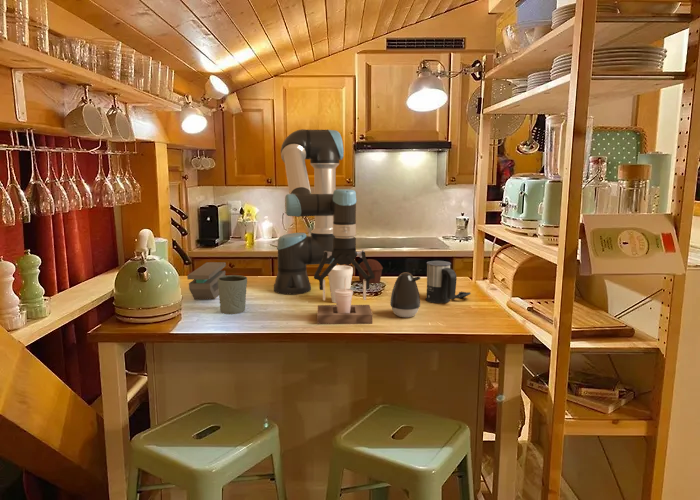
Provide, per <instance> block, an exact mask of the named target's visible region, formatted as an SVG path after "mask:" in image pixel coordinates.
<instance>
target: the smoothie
mask: <svg viewBox="0 0 700 500" xmlns="http://www.w3.org/2000/svg"><path fill="white" fill-rule="evenodd" d="M334 294H335V296H336V303H335V305H337V312H338V313H350V308H351V305H352V299H353V295H354V290H353V289H351V288H350V289H346V278H345V289H336V290H335V291H334Z"/></svg>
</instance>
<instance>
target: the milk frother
mask: <svg viewBox="0 0 700 500" xmlns="http://www.w3.org/2000/svg"><path fill="white" fill-rule="evenodd" d="M451 265H452V263H451V262H450V261H444V260H431V261H427V262H426V298H425V300H426V302H428V303H434V304H445V303H446V304H447V303H450V301H451V300H454V299H458V298H460V299H464V298H465V297H467V296H469V295H471V291H470V292H466V291H459V292H458V293H457V294H456V290H457V273H456V271H455V270H454V269H452V268H451Z"/></svg>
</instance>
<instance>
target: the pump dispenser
mask: <svg viewBox="0 0 700 500" xmlns="http://www.w3.org/2000/svg"><path fill="white" fill-rule="evenodd" d="M419 280H421V276H419V275H418V276H415V277H414V276H413V274H412V273H410V272H408V271H407V272H402V273H400V274H399V275H398V277H397V278H396V280H395V282H394V285H393V288H392V291H391V295H390V307H391V311H392V312H393V314H395V316H397V317H400V318H412V317H413V316H415V315H416V314H418V311H419V310H420V309H419V308H420V307H421V299H420V290H419V288H418V287H419V286H418V284H417V281H419Z"/></svg>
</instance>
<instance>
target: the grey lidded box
mask: <svg viewBox="0 0 700 500" xmlns="http://www.w3.org/2000/svg"><path fill="white" fill-rule="evenodd" d="M225 267H227V264H226V262H225V261H224V262H221V261H220V262H219V261H218V262H216V261H209V262H208V261H206V262H205V263H203V264H202V265H201V266H199V267H198V268H196V269H195V270H193V271H192V272H190V273H189V274H187V280H191V281H190V282H189V283H188V289H189V292H190V294H191V296H192V297H193V299H194V300H216V299H217V298H219V288H218V278H219V277H221V276H226V270H223V269H224V268H225Z"/></svg>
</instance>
